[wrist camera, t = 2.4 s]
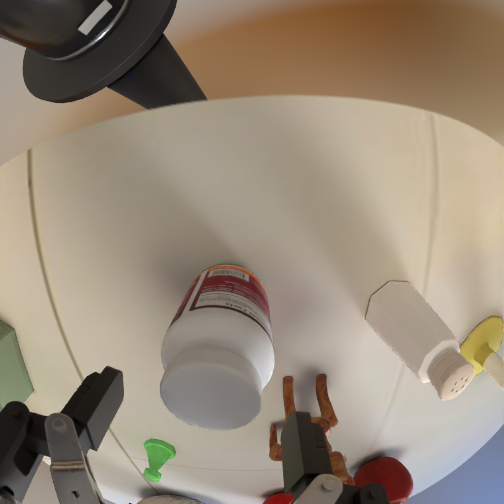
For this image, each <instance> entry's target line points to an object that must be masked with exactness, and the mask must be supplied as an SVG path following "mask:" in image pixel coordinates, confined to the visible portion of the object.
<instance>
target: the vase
mask: <svg viewBox="0 0 504 504" xmlns="http://www.w3.org/2000/svg"><path fill="white" fill-rule="evenodd" d="M137 504H203V503H201V502H200V501H196V500H192V499H189V498H186V497H180V496H175V495H166V494H164V495H157V496H151V497H146V498H143V499H142V500H141V501H139V502H138V503H137Z"/></svg>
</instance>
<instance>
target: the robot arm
mask: <svg viewBox="0 0 504 504" xmlns="http://www.w3.org/2000/svg"><path fill="white" fill-rule="evenodd" d="M131 2H132V0H0V38H3V39H6V40H8V41H11V42H13V43H16V44H18V45H21V46H23V47H26V48H28V49H31V50H33V51H35V52H38V53H40V54H41V55H43V56H45V57H47V58H49V59H51V60H53V61H56V62H69V61H72V60H75V59H77V58H80V57H82V56H83V55H85V54H87V53H88V52H90V51H92V50H93V49H94V48H96V47H97V46H98V45H100V44H101V43H102V42H103V41H104V40H105V39H106V38H107V37H109V36H110V34H111V33H112V32H113V31H114V30H115V29H116V28H117V27H118V26H119V24H120V23H121V22H122V20H123V19H124V17H125V16H126V14H127V12H128V10H129V8H130V5H131ZM123 397H124V386H123V373H122V371H120V370H117V369H115V368H112V367H109V366H106V367H105V368H104V370H103V371H102V373H101V374H99V373H97V372H94V373H92V374H90V375H89V376H87V377H86V378H85V379H84V381H83V382H82V384H81V385H80V386H79V388H78V389H77V391H76V392H75V393H74V394H73V396H72V397H71V399H70V400H69V401H68V403H67V404H66V405H65V407H64V408H63V410H62V411H61V412H60V413H53V414H51V415H49V416H43V415H40V414H36V413H32V412H29V409H28V408H27V406H26V405H25V404H24V403H22V402H20V401H11V402H9V403H7V404H6V405H5V407H4V408H3V409H2V411H1V412H0V504H22V501H23V499H24V496H25V494H26V492H27V490H28V488H29V485H30V483H31V481H32V479H33V477H34V475H35V473H36V471H37V468H38V466H39V464H40V462H41V460H42V458H43V457H44V455H45V456H48V457H50V458H51V465H50V471H51V475H52V479H53V483H54V487H55V490H56V493H57V496H58V500H59V502H60V504H106V503H105V501H104V498H103V496H102V494H101V492H100V490H99V488H98V485H97V483H96V480H95V478H94V475H93V472H92V469H91V466H90V464H89V461H88V457H87V452H88V450H89V449H92V450H95V451H97V450H98V448H99V446H100V444H101V442H102V440H103V438H104V436H105V434H106V432H107V430H108V428H109V426H110V424H111V422H112V420H113V418H114V417H115V415H116V413H117V411H118V409H119V407H120V405H121V403H122V401H123ZM281 450H282V463H283V477H284V490H285V494H292V495H293V500H292V501H291V502H290V503H289V504H390V503H389V499H388V495H387V492H386V489H385V488H384V487H383V486H382V485H381V484H379V483H375V482H371V483H367V484H365V485H364V486H363V487H358V486H352V485H347V484H344V483H342V482H341V480H340V479H339V478H338V477H336V476H334V474H333V471H332V466H331V462H330V457H329V453H328V448H327V444H326V441H325V435H324V431H323V430H322V428H321V427H320V426H319V424H318V423H312V421H311V416H310V413H309V412H300V411H293V412H292V413H291V415H290V417H289V418H288V420H287V422H286V424H285V426H284V428H283V430H282V433H281ZM129 504H131V503H129Z"/></svg>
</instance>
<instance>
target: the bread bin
mask: <svg viewBox="0 0 504 504" xmlns="http://www.w3.org/2000/svg"><path fill="white" fill-rule="evenodd" d="M33 391H34V390H33V388H32V385H31V383H30V380H29V377H28V374H27V372H26V369H25V366H24V363H23V359H22V356H21V353H20V350H19V346H18V342H17V339H16V335H15V331H14V329H13V328H11V327H10V326H8V325H7V324H5V323H3V322H2V321H0V405H1V407H2V409H3V408H4V407H5V405H6V404H7V403H9V402H11V401H20V402H22V403H24V402H25V401H26V399H27V398H28V397H29V396H30V395H31V393H32V392H33Z"/></svg>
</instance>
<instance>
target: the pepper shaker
mask: <svg viewBox="0 0 504 504" xmlns="http://www.w3.org/2000/svg"><path fill="white" fill-rule="evenodd" d="M365 319H366V320H367V322H368V323H369V325H370V326H371V327H372V329H373V330H374V332H375V333H376V334H377V335H378V336H379V337H380V338H381V339H382V340H383V341H384V342H385V343H386V344H387V346H388V347H389V348H390V349H391V350H392V351H393V352H394V353H395V354H396V355H397V356H398V357H399V358H400V359H401V360H402V361H403V362H404V364H405V365H406V366H407V367H408V368H409V369H410V370H411V371H412V372H413V373H414V374H415V375H416V376H417V378H418V379H420V380H421V381H422V382H423V383H425V382H432V386H433V387H434V388H435V390H437V392H438V395H439V397H440V399H442V400H450V399H452V398H454V397H456V396H457V395H459V394H460V393H461V392H462V391H463V390H464V389H465V388H466V387H467V386H468V384H469V383H470V381H471V380H472V378H473V375H474V366H473V365H472V364H471V363H470V362H468V361H466V359H465V358H464V357H463V356H462V355H461V354H459V352H460V347H459V344H458V341H457V339H456V337H455V336H454V334H453V333H452V331H451V330H450V329H449V328H448V327H447V325H446V324H445V323H444V322H443V320H442V319H441V318H440V317H439V316H438V314H437V313H436V312H435V311H434V310H433V309H432V307H431V306H430V305H429V304H428V303H427V302H426V301H425V299H424V298H423V297H422V296H421V295H420V294H419V293H418V292H417V290H416V289H415V288H414V287H413V286H412V285H411V284H410V283H409V282H397V281H389V282H388V283H387V284H385V285H384V286H383V287H382V288H381V289H380V290H378V291H377V292H376V293H375V294H374V295H372V296H371V298H370V302H369V306H368V310H367V314H366V318H365Z"/></svg>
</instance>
